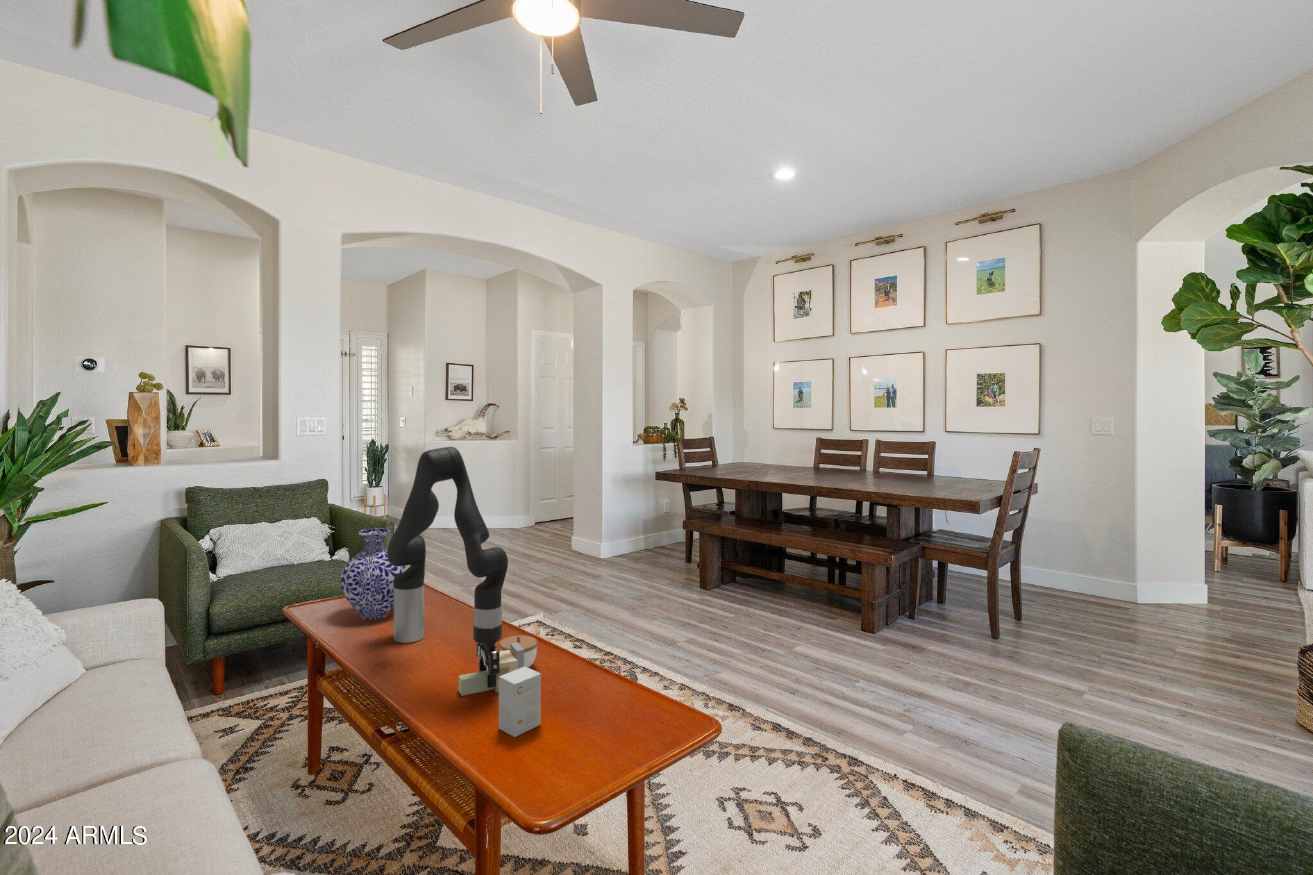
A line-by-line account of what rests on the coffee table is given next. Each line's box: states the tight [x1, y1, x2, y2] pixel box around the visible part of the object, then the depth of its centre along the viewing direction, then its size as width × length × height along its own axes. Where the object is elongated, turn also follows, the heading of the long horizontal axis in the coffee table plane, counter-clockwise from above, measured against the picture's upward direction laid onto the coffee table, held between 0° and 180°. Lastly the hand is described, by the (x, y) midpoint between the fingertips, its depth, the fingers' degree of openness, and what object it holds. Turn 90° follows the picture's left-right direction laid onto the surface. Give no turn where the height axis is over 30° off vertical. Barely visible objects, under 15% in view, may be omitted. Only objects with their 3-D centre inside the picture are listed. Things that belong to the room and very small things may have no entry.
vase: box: [340, 527, 407, 621], centre depth 232 cm, size 22×22×30 cm
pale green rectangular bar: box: [458, 670, 494, 696], centre depth 178 cm, size 3×12×4 cm, turn 120°
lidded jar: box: [499, 635, 538, 668], centre depth 192 cm, size 11×11×9 cm
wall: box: [510, 642, 524, 669], centre depth 183 cm, size 6×2×10 cm, turn 30°
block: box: [488, 650, 518, 694], centre depth 181 cm, size 8×6×8 cm
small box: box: [498, 667, 542, 738], centre depth 159 cm, size 8×6×13 cm
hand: (487, 680), depth 179 cm, fingers open, 8 cm apart
